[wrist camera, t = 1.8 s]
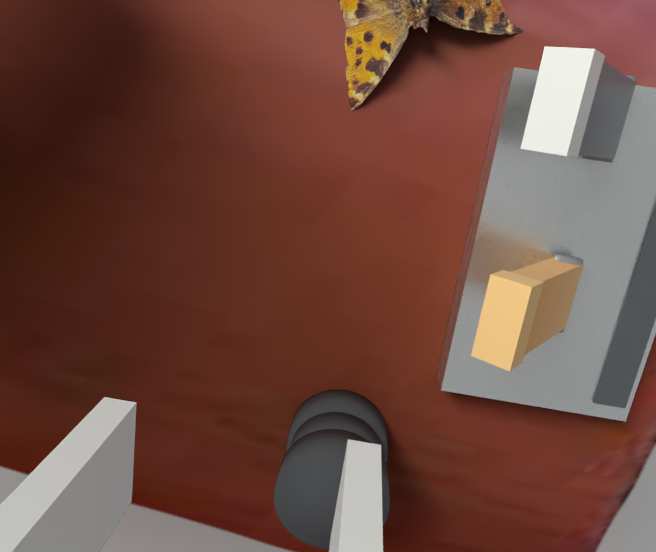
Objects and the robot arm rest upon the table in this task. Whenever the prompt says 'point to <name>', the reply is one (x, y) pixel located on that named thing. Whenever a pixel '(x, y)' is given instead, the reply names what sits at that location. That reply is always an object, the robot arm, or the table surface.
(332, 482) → the grey stacked discs
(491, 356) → the paddle orange
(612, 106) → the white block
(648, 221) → the panel
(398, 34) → the butterfly model
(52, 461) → the robot arm
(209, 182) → the table surface
